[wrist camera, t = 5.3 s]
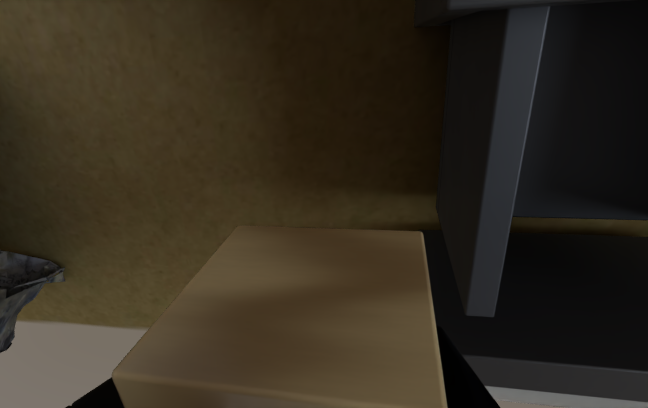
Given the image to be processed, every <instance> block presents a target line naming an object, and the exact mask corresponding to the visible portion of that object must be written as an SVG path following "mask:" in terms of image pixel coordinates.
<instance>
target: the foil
mask: <svg viewBox="0 0 648 408" xmlns="http://www.w3.org/2000/svg"><path fill="white" fill-rule="evenodd" d="M64 268H65V267H64ZM64 268H60V267H59V266H58V265H56V264H54V263H53V262H51V261H48V260H44V259H39V258H35V257H31V256H26V255H22V254H17V253H13V252H8V251H2V250H0V353H1V352H3V351H5V350H7V349H8V348H9V347H10V346H11V344H12V343H11V341H12V340H13V338H14V328H15V323H16V319H17V315H18V313H19V312H20V311H21V309H22V308H23V307H24V306H25V305H26V304H28V303H29V302H30V301H32V300H33V299H34V298H35V297H36V296H37V294H38V293H39V291H40V290H41V289H42V287H43V286H44V284H45V283H52V282H63V281H65V279H64V276H63V271H64ZM58 272H59V273H60V274H58V275H56V276H54V275H55V274H56V273H58ZM52 276H54V277H52ZM47 280H48V281H49V282H46V281H47Z"/></svg>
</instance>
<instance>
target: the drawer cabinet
mask: <svg viewBox="0 0 648 408" xmlns="http://www.w3.org/2000/svg"><path fill="white" fill-rule="evenodd" d="M616 1H631V0H415V12H414V27H427V26H443V25H451V20H453V19H457V18H460V17H463V16H466V15H469V14H473V13H476V12H479V11H486V10H500V9H515V8H529V7H544V6H558V5H573V4H587V3H602V2H616Z"/></svg>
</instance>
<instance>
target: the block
mask: <svg viewBox="0 0 648 408" xmlns="http://www.w3.org/2000/svg"><path fill="white" fill-rule="evenodd" d="M112 379H113V382H114V384H115V386H116V389H117V391H118V394H119V396H120V398H121V401H122V403H123V406H124V408H448V407H447V400H446V393H445V386H444V379H443V372H442V365H441V357H440V350H439V343H438V336H437V329H436V322H435V315H434V307H433V300H432V293H431V286H430V279H429V272H428V264H427V257H426V250H425V243H424V236H423V233H422V232H420V231H393V230H364V229H334V228H304V227H274V226H244V225H240V226H237V227H236V228H235V229H234V230H233V232H232V233H231V234H230V235H229V236H228V237H227V239H226V240H225V241H224V242H223V243H222V244H221V246H220V247H219V248H218V249H217V250H216V251H215V253H214V254H213V255H212V256H211V257H210V258H209V260H208V261H207V262H206V263H205V264H204V265H203V267H202V268H201V269H200V270H199V271H198V272H197V274H196V275H195V276H194V277H193V278H192V279H191V280H190V282H189V283H188V284H187V285H186V286H185V287H184V289H183V290H182V291H181V292H180V293H179V294H178V296H177V297H176V298H175V299H174V300H173V301H172V303H171V304H170V305H169V306H168V307H167V308H166V310H165V311H164V312H163V313H162V314H161V315H160V317H159V318H158V319H157V320H156V321H155V322H154V324H153V325H152V326H151V327H150V328H149V329H148V331H147V332H146V333H145V334H144V335H143V337H142V338H141V339H140V340H139V341H138V342H137V344H136V345H135V346H134V347H133V348H132V349H131V350H130V352H129V353H128V354H127V355H126V356H125V357H124V359H123V360H122V361H121V362H120V363H119V364H118V366H117V367H116V368H115V369H114V370H113V372H112Z"/></svg>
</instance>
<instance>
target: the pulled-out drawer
mask: <svg viewBox="0 0 648 408" xmlns="http://www.w3.org/2000/svg"><path fill="white" fill-rule="evenodd" d="M436 209H437V213H438V217H439V221H440V224H441V228H442V230H419V231H420V232H422V233H423V236H424V243H425V250H426V257H427V264H428V272H429V279H430V286H431V293H432V300H433V307H434V315H435V322H436V326H440V327H442V328H443V330H444V331H445V332H446V334H447V335H448V337H449V338H450V339H451V341H452V342H453V343H454V345H455V346H456V348H457V349H458V350H459V352H460V353H461V354H462V356H463V357H464V359H465V360H466V361H467V363H468V364H469V365H470V367H471V368H472V370H473V371H474V372H475V374H476V375H477V376H478V378H479V379H480V380H481V382H482V383H483V385H484V386H485V387H486V389H487V390H488V391H489V393H490V394H491V396H492V397H493V398H494V400H500V401H509V402H518V403H528V404H538V405H547V406H556V407H565V408H648V237H634V236H603V235H571V234H540V233H509V232H510V226H511V221H512V217H541V218H581V219H622V220H648V0H631V1H616V2H602V3H587V4H573V5H558V6H544V7H529V8H515V9H500V10H486V11H479V12H476V13H473V14H469V15H466V16H463V17H460V18H457V19H453V20H451V31H450V43H449V55H448V67H447V79H446V92H445V104H444V116H443V128H442V140H441V152H440V164H439V176H438V188H437V200H436Z"/></svg>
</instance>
